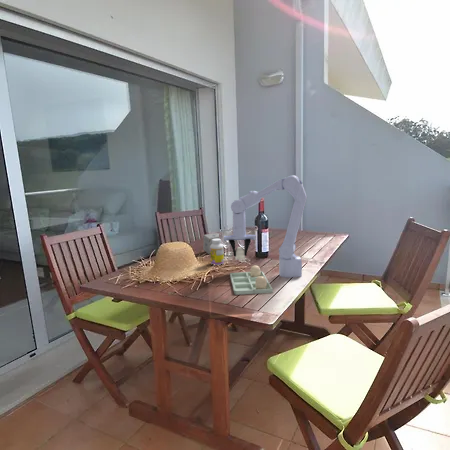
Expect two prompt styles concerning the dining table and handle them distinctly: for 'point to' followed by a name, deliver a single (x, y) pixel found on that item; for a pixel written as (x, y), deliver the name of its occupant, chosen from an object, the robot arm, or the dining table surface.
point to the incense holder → (209, 241)
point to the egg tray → (247, 284)
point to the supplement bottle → (216, 252)
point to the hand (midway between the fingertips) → (240, 255)
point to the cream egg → (240, 253)
